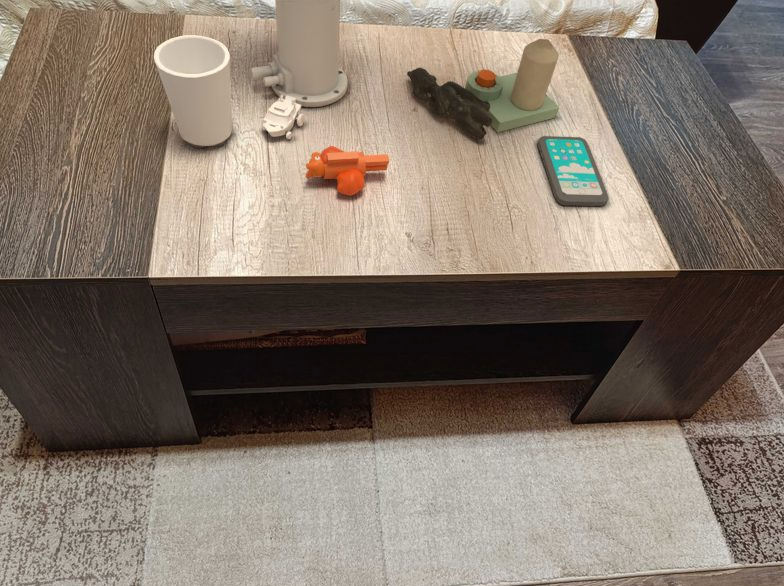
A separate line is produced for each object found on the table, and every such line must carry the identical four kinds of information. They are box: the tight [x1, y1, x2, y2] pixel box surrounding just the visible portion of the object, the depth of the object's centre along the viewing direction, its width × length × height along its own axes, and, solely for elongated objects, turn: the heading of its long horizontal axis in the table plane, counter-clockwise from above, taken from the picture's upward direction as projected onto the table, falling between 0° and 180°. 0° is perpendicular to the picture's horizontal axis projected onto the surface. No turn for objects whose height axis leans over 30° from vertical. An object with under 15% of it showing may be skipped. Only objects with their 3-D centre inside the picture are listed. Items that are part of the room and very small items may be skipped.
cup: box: [153, 34, 233, 149], centre depth 88 cm, size 10×10×13 cm
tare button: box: [476, 69, 497, 88], centre depth 102 cm, size 3×3×2 cm
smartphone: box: [537, 135, 609, 207], centre depth 97 cm, size 9×1×15 cm
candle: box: [511, 38, 560, 111], centre depth 99 cm, size 6×6×10 cm
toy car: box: [261, 95, 305, 140], centre depth 94 cm, size 5×8×4 cm, turn 160°
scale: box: [464, 70, 560, 133], centre depth 104 cm, size 13×12×4 cm
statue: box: [406, 66, 492, 140], centre depth 100 cm, size 6×6×20 cm
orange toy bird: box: [305, 145, 390, 197], centre depth 89 cm, size 5×8×12 cm
